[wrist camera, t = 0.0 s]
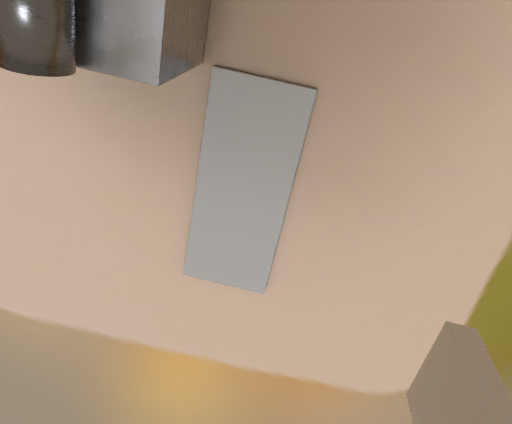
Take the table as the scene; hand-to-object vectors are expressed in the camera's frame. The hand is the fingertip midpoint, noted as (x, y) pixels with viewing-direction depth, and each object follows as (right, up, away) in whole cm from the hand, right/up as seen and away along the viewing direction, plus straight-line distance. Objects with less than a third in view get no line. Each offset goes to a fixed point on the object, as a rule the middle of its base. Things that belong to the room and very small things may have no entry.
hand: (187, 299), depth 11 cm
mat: (0, +4, +29) cm, 30 cm away
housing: (-9, +19, +23) cm, 31 cm away
